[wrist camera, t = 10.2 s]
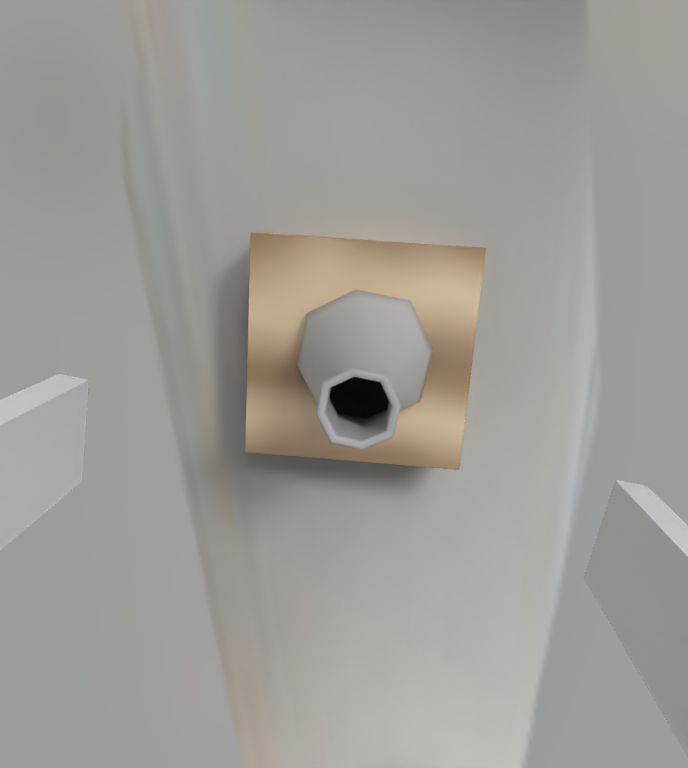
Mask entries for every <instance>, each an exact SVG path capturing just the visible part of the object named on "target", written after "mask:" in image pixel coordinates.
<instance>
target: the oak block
mask: <svg viewBox="0 0 688 768" xmlns="http://www.w3.org/2000/svg"><path fill="white" fill-rule="evenodd" d="M485 250H486V249H485V248H477V247H467V246H452V245H437V244H422V243H407V242H392V241H377V240H362V239H347V238H333V237H318V236H303V235H288V234H273V233H251V238H250V278H249V318H248V358H247V398H246V438H245V452H248V453H260V454H273V455H285V456H297V457H309V458H322V459H334V460H346V461H358V462H371V463H383V464H395V465H407V466H420V467H432V468H444V469H457V470H459V466H460V458H461V450H462V441H463V433H464V425H465V416H466V408H467V400H468V391H469V383H470V375H471V367H472V358H473V350H474V342H475V333H476V325H477V317H478V309H479V300H480V292H481V284H482V275H483V267H484V259H485ZM354 290H361V291H366V292H371V293H376V294H381V295H386V296H390V297H395V298H400V299H405V300H410V301H411V303H412V305H413V307H414V309H415V312H416V314H417V316H418V318H419V321H420V323H421V325H422V327H423V329H424V332H425V334H426V336H427V338H428V340H429V343H430V345H431V347H432V349H433V352H432V356H431V360H430V364H429V368H428V372H427V377H426V381H425V385H424V389H423V393H422V397H421V401H420V402H418V403H416V404H414V405H411V406H409V407H407V408H404V409H402V410H400V412H399V416H398V420H397V425H396V429H395V433H394V437H393V438H391V439H388V440H386V441H384V442H381V443H379V444H377V445H374V446H372V447H370V448H367V449H365V450H359V449H354V448H349V447H345V446H340V445H335V444H330V442H329V440H328V438H327V436H326V434H325V432H324V430H323V428H322V426H321V424H320V422H319V420H318V418H317V416H316V410H317V404H316V402H315V400H314V398H313V396H312V394H311V392H310V390H309V388H308V386H307V384H306V382H305V380H304V378H303V376H302V374H301V372H300V370H299V368H298V366H297V363H298V358H299V352H300V347H301V342H302V336H303V331H304V325H305V320H306V314H307V313H308V312H310V311H312V310H314V309H316V308H318V307H320V306H323V305H325V304H327V303H329V302H331V301H333V300H335V299H337V298H339V297H341V296H343V295H346V294H348V293H350V292H352V291H354Z"/></svg>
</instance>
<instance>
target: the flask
mask: <svg viewBox="0 0 688 768" xmlns="http://www.w3.org/2000/svg"><path fill="white" fill-rule="evenodd" d="M432 352H433V349H432V347H431V345H430V343H429V340H428V338H427V336H426V334H425V332H424V329H423V327H422V325H421V323H420V321H419V318H418V316H417V314H416V312H415V309H414V307H413V305H412V303H411V301H410V300H405V299H400V298H395V297H390V296H386V295H381V294H376V293H371V292H366V291H361V290H354V291H352V292H350V293H348V294H346V295H343V296H341V297H339V298H337V299H335V300H333V301H331V302H329V303H327V304H325V305H323V306H320V307H318V308H316V309H314V310H312V311H310V312H308V313H307V314H306V320H305V325H304V331H303V336H302V342H301V347H300V352H299V358H298V363H297V366H298V368H299V370H300V372H301V374H302V376H303V378H304V380H305V382H306V384H307V386H308V388H309V390H310V392H311V394H312V396H313V398H314V400H315V402H316V404H317V410H316V416H317V418H318V420H319V422H320V424H321V426H322V428H323V430H324V432H325V434H326V436H327V438H328V440H329V442H330V444H335V445H340V446H345V447H349V448H354V449H359V450H365V449H367V448H370V447H372V446H374V445H377V444H379V443H381V442H384V441H386V440H388V439H391V438H393V437H394V433H395V429H396V425H397V420H398V416H399V412H400V410H402V409H404V408H407V407H409V406H411V405H414V404H416V403H418V402H420V401H421V397H422V393H423V389H424V385H425V381H426V377H427V372H428V368H429V364H430V360H431V356H432Z"/></svg>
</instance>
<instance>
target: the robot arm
mask: <svg viewBox="0 0 688 768" xmlns="http://www.w3.org/2000/svg"><path fill="white" fill-rule="evenodd" d="M88 391H89V379H83V378H78V377H72V376H68V375H62V374H58V375H56V376H53V377H51V378H49V379H46V380H44V381H42V382H40V383H37V384H35V385H33V386H31V387H29V388H26V389H24V390H22V391H19V392H17V393H15V394H13V395H11V396H8V397H6V398H4V399H2V400H0V550H1V549H2V548H3V547H4V546H6V545H7V544H8V543H9V542H10V541H11V540H13V539H14V538H15V537H16V536H17V535H19V534H20V533H21V532H22V531H23V530H25V529H26V528H27V527H28V526H29V525H31V524H32V523H33V522H34V521H35V520H37V519H38V518H39V517H40V516H41V515H43V514H44V513H45V512H46V511H47V510H49V509H50V508H51V507H52V506H53V505H54V504H56V503H57V502H58V501H59V500H60V499H62V498H63V497H64V496H65V495H66V494H68V493H69V492H70V491H71V490H72V489H74V488H75V487H76V486H77V485H78V484H79V483H81V482H82V477H83V462H84V448H85V434H86V419H87V406H88ZM584 579H585V581H586V583H587V584H588V586H589V588H590V590H591V591H592V593H593V595H594V596H595V598H596V600H597V601H598V603H599V605H600V606H601V608H602V610H603V612H604V614H605V615H606V617H607V619H608V620H609V622H610V624H611V626H612V627H613V629H614V631H615V632H616V634H617V636H618V637H619V639H620V641H621V643H622V644H623V646H624V648H625V649H626V651H627V653H628V655H629V656H630V658H631V660H632V661H633V663H634V665H635V667H636V668H637V670H638V672H639V673H640V675H641V677H642V678H643V680H644V682H645V684H646V685H647V687H648V689H649V691H650V692H651V694H652V696H653V697H654V699H655V701H656V703H657V704H658V706H659V708H660V709H661V711H662V713H663V714H664V716H665V718H666V720H667V721H668V723H669V725H670V727H671V728H672V730H673V732H674V733H675V735H676V737H677V738H678V740H679V742H680V744H681V745H682V747H683V749H684V750H685V752H686V754H687V755H688V525H687V524H685V522H684V521H683V520H681V519H680V518H679V517H678V516H677V515H676V514H675V513H674V512H673V511H672V510H671V509H670V508H669V507H668V506H667V505H666V504H665V503H664V502H663V501H662V500H661V499H660V498H659V497H658V496H657V495H655V494H654V493H653V492H652V491H651V490H650V489H649V488H648V487H647V486H645V485H639V484H634V483H629V482H623V481H618V480H615V483H614V486H613V489H612V492H611V495H610V498H609V501H608V504H607V507H606V511H605V514H604V517H603V520H602V523H601V526H600V529H599V532H598V536H597V538H596V542H595V544H594V548H593V551H592V554H591V557H590V560H589V563H588V566H587V569H586V572H585V575H584Z"/></svg>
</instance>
